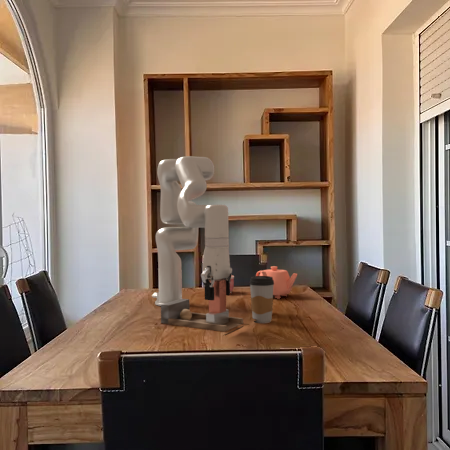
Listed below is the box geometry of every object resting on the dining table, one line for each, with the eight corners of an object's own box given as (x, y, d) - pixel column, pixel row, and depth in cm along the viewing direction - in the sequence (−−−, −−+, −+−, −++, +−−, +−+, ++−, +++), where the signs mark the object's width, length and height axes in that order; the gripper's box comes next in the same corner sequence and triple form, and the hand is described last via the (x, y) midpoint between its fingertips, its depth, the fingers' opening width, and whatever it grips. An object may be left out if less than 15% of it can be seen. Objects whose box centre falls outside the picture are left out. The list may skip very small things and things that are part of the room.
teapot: (298, 298, 195) (298, 267, 195) (262, 301, 190) (261, 269, 190) (284, 292, 211) (283, 264, 210) (249, 295, 206) (249, 265, 206)
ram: (204, 326, 140) (204, 281, 140) (219, 320, 148) (219, 278, 148) (215, 327, 138) (215, 282, 138) (230, 321, 146) (229, 278, 146)
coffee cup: (276, 319, 156) (276, 276, 156) (271, 324, 148) (270, 279, 148) (253, 317, 159) (253, 275, 158) (246, 323, 151) (246, 278, 150)
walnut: (177, 321, 149) (177, 309, 149) (184, 319, 152) (184, 307, 152) (187, 322, 147) (187, 310, 147) (194, 320, 150) (194, 308, 150)
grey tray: (161, 326, 147) (160, 304, 147) (182, 319, 158) (182, 298, 157) (224, 335, 135) (224, 311, 135) (243, 326, 146) (243, 304, 145)
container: (234, 294, 207) (234, 277, 206) (211, 295, 207) (211, 277, 207) (234, 291, 217) (234, 274, 217) (212, 291, 217) (212, 274, 217)
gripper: (220, 242, 152) (221, 292, 152) (191, 244, 137) (192, 300, 137) (240, 242, 149) (240, 294, 149) (212, 245, 134) (213, 302, 134)
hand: (217, 297), depth 143 cm, fingers open, 9 cm apart
